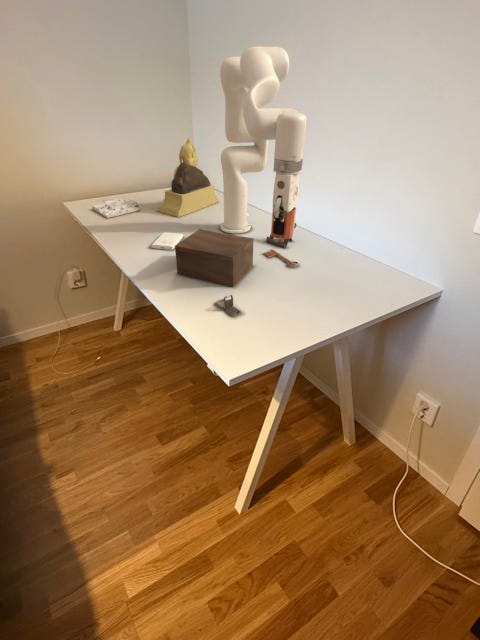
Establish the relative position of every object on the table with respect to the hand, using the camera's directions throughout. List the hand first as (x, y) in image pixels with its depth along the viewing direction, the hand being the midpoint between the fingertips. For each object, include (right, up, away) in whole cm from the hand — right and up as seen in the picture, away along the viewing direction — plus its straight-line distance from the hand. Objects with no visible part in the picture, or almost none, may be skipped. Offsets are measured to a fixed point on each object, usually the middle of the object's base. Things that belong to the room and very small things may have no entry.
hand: (282, 229), depth 112 cm
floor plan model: (-72, +27, +69) cm, 103 cm away
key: (+2, -5, +23) cm, 24 cm away
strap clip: (-16, -23, -4) cm, 29 cm away
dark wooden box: (-20, -10, +16) cm, 28 cm away
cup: (0, -1, +1) cm, 2 cm away
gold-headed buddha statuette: (-37, +28, +71) cm, 85 cm away
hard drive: (-40, +3, +35) cm, 53 cm away
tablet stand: (+3, +3, +36) cm, 37 cm away
